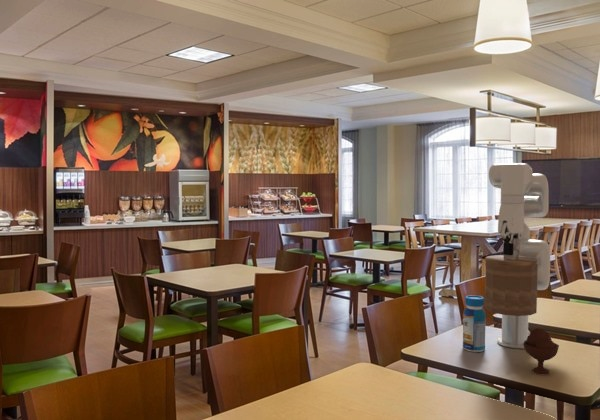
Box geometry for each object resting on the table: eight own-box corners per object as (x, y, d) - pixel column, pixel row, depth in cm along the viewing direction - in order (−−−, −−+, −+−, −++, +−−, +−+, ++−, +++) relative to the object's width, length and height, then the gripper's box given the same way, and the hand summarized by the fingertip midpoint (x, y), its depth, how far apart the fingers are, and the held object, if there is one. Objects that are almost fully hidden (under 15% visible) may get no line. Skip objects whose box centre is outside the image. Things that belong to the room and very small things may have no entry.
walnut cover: (499, 301, 198) (500, 234, 196) (545, 309, 186) (546, 238, 184) (475, 309, 187) (476, 238, 185) (522, 318, 175) (524, 242, 173)
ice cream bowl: (562, 378, 176) (563, 333, 175) (526, 376, 179) (527, 331, 178) (554, 367, 187) (555, 324, 186) (519, 365, 189) (520, 322, 188)
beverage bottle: (484, 353, 201) (485, 300, 200) (461, 351, 205) (461, 298, 203) (486, 347, 209) (487, 295, 208) (463, 344, 212) (464, 293, 211)
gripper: (513, 199, 192) (512, 250, 193) (489, 200, 181) (488, 255, 182) (534, 199, 187) (533, 253, 188) (511, 201, 176) (510, 258, 177)
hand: (511, 253), depth 185 cm, fingers closed on walnut cover, 3 cm apart
